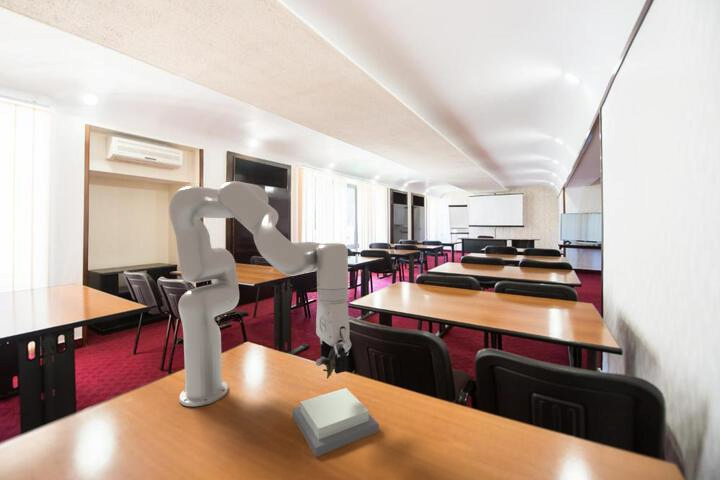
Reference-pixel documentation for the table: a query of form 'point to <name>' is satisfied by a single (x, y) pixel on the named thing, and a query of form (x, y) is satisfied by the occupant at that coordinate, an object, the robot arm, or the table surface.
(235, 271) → the robot arm
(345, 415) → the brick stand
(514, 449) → the table surface
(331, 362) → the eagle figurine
